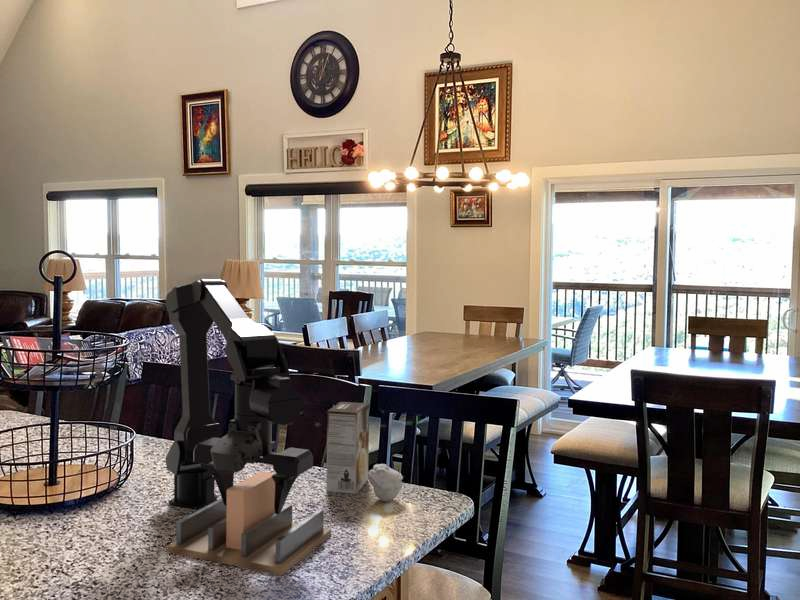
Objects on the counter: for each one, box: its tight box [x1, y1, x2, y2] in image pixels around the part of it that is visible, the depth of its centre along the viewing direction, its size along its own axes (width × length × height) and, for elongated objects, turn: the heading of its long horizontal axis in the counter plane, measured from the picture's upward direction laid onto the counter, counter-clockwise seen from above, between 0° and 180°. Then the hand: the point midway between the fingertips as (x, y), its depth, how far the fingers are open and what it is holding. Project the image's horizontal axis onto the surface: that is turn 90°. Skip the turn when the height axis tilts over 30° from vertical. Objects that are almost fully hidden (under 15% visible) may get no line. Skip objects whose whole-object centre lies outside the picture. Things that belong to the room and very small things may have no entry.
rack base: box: [166, 522, 332, 576], centre depth 114 cm, size 20×16×1 cm
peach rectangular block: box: [226, 471, 276, 550], centre depth 114 cm, size 3×10×9 cm, turn 160°
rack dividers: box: [175, 497, 325, 564], centre depth 114 cm, size 18×14×4 cm
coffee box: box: [325, 401, 370, 495], centre depth 143 cm, size 9×6×16 cm
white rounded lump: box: [367, 463, 404, 502], centre depth 135 cm, size 6×7×7 cm
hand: (252, 509), depth 114 cm, fingers open, 9 cm apart
